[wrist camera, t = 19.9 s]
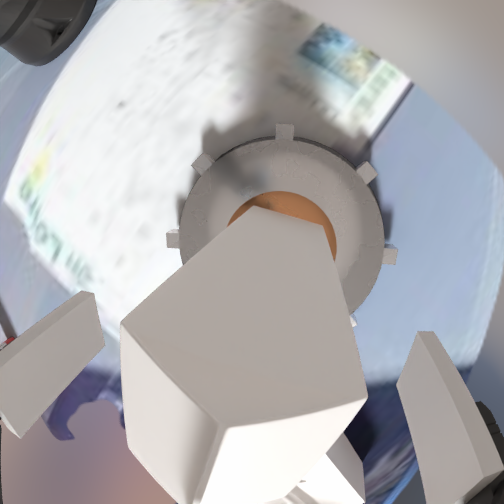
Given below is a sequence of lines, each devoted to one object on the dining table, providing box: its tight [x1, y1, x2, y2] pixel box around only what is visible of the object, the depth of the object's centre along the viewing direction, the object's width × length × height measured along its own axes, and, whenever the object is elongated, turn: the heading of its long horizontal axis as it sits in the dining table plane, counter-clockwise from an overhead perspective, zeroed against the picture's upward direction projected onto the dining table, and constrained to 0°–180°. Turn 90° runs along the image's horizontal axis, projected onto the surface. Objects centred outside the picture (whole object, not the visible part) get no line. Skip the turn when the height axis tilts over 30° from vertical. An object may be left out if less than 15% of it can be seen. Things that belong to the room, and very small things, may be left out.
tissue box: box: [259, 433, 365, 504], centre depth 30 cm, size 14×25×11 cm, turn 30°
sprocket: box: [166, 124, 398, 328], centre depth 23 cm, size 20×20×7 cm
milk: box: [120, 206, 368, 504], centre depth 14 cm, size 6×6×22 cm
